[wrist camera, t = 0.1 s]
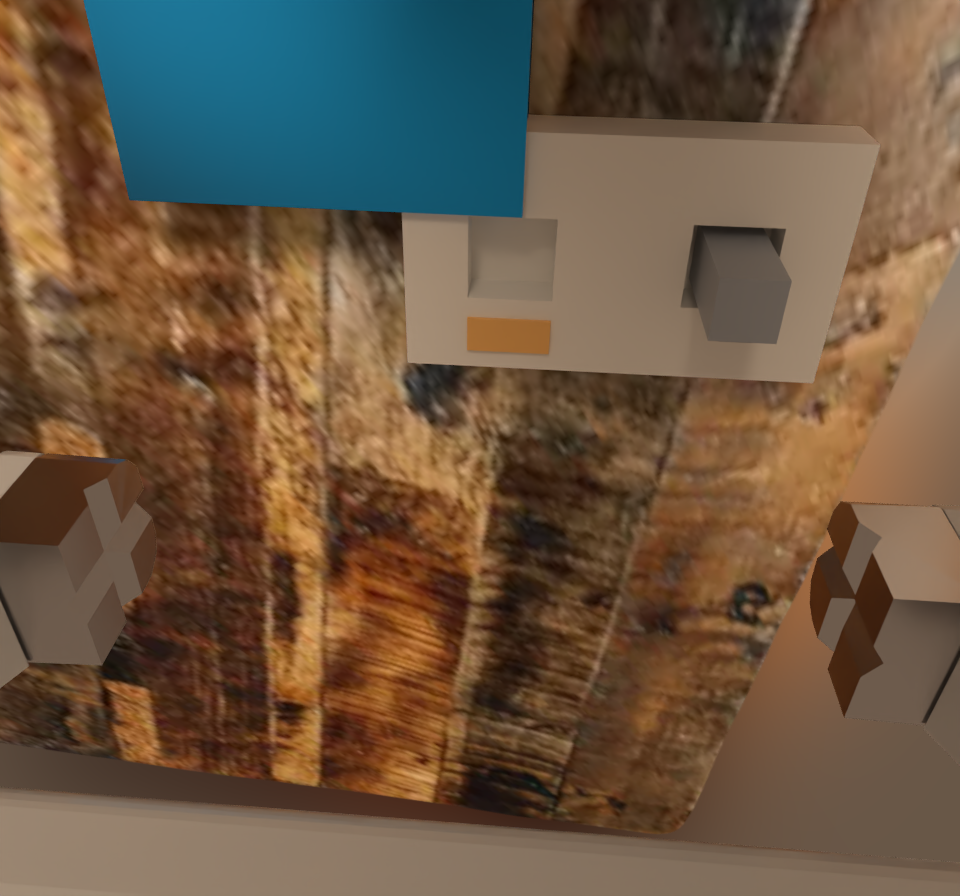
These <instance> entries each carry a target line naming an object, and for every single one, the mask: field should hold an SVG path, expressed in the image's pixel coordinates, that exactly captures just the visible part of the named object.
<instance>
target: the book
mask: <svg viewBox="0 0 960 896" xmlns="http://www.w3.org/2000/svg"><path fill="white" fill-rule="evenodd" d="M84 4H85V9H86V13H87V17H88V22H89V26H90V30H91V35H92V39H93V44H94V48H95V52H96V57H97V61H98V65H99V70H100V74H101V78H102V83H103V87H104V91H105V96H106V100H107V104H108V109H109V113H110V117H111V122H112V126H113V130H114V135H115V139H116V143H117V148H118V152H119V157H120V161H121V165H122V170H123V174H124V178H125V183H126V187H127V191H128V196H129V200H138V201H160V202H182V203H204V204H226V205H249V206H271V207H293V208H315V209H337V210H359V211H381V212H404V213H426V214H448V215H470V216H492V217H514V218H522V216H523V196H524V175H525V153H526V132H527V118H528V114H529V93H530V73H531V52H532V31H533V10H534V0H84Z"/></svg>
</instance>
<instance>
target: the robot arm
mask: <svg viewBox="0 0 960 896" xmlns="http://www.w3.org/2000/svg"><path fill="white" fill-rule="evenodd" d="M143 489H144V488H143V485H142V481H141V478H140V475H139V472H138V469H137V466H136V465H134V464H133V463H131V462H130V461H128V460H124V459H111V458H99V457H86V456H74V455H61V454H49V453H47V454H41V453H30V452H15V451H5V452H2V453H0V688H1V687H2V686H3V685H5V684H6V683H7V682H9V681H10V680H11V679H13V678H14V677H15V676H16V675H18V674H19V673H20V672H22V671H23V670H24V669H26V668H27V667H28V666H29V664H28V662H38V663H61V664H85V665H102V664H103V662H104V660H105V659H106V657H107V655H108V653H109V651H110V650H111V648H112V646H113V644H114V643H115V641H116V639H117V637H118V636H119V634H120V632H121V630H122V628H123V627H124V625H125V623H126V619H125V615H124V612H123V609H122V606H123V605H125V604H126V603H128V602H129V601H131V600H132V599H134V598H136V597H137V596H139V595H140V594H142V592H143V591H144V589H145V587H146V585H147V583H148V581H149V579H150V577H151V575H152V571H153V566H154V562H155V557H156V552H157V550H156V532H155V529H154V525H153V521H152V517H151V516H150V515H148V514H147V513H146V512H145V511H144V510H143V509H142V508H141V507H140V506H139V505H138V504H137V503H136V502H135V501H136V500H137V498H138V497H139V495H140V493H141V492H142V490H143ZM827 530H828V532H829V535H830V537H831V540H832V543H833V545H834V546H833V547H832V548H830V549H829V550H828V551H826V552H825V553H824V554H822V555H821V556H820V557H818V558H817V561H816V565H815V568H814V572H813V575H812V579H811V591H810V608H811V615H812V621H813V624H814V628H815V631H816V634H817V638H818V639H820V640H821V641H822V642H823V643H824V644H825V645H826V646H828V647H829V648H830V649H831V650H832V651H834V653H833V656H832V659H831V662H830V664H829V667H828V671H829V674H830V677H831V680H832V683H833V686H834V689H835V692H836V695H837V697H838V701H839V704H840V707H841V710H842V712H843V716H844V718H853V719H863V720H874V721H884V722H894V723H905V724H915V725H925V727H924V730H925V731H926V732H927V733H928V734H929V735H930V736H931V737H932V738H933V739H934V740H935V741H936V742H937V743H938V744H939V745H940V746H941V747H942V748H943V749H944V750H945V752H946V753H947V754H949V756H950V757H951V758H952V759H953V760H954V761H955V762H956V763H957V764H958V765H959V766H960V506H954V505H952V506H951V505H932V506H917V505H898V504H880V503H879V504H878V503H862V502H843V501H841V502H840V503H839V504H838V506H837V507H836V508H835V510H834V511H833V513H832V516H831V519H830V522H829V525H828V528H827ZM0 896H960V862H947V861H934V860H922V859H909V858H908V859H907V858H897V857H884V856H871V855H859V854H846V853H833V852H821V851H808V850H795V849H783V848H770V847H757V846H743V845H731V844H719V843H705V842H693V841H680V840H668V839H655V838H642V837H629V836H617V835H603V834H590V833H577V832H565V831H553V830H539V829H527V828H514V827H502V826H489V825H476V824H464V823H452V822H439V821H426V820H414V819H400V818H388V817H375V816H362V815H351V814H350V815H349V814H338V813H324V812H313V811H300V810H287V809H275V808H261V807H250V806H236V805H224V804H211V803H199V802H186V801H174V800H161V799H148V798H134V797H122V796H110V795H96V794H84V793H72V792H59V791H47V790H34V789H21V788H9V787H0Z"/></svg>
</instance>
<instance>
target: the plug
mask: <svg viewBox="0 0 960 896" xmlns="http://www.w3.org/2000/svg"><path fill="white" fill-rule="evenodd" d="M689 280H690V283H691V286H692V290H693V293H694V296H695V300H696V303H697V306H698V310H699V313H700V316H701V320H702V323H703V326H704V329H705V333H706V336H707V339H708V341H719V342H739V343H764V344H777V340H778V336H779V332H780V328H781V324H782V319H783V315H784V311H785V307H786V303H787V299H788V295H789V291H790V287H791V283H792V280H791V279H790V277H789V275H788V273H787V271H786V269H785V267H784V265H783V264H782V262H781V260H780V258H779V256H778V254H777V252H776V250H775V249H774V247H773V245H772V243H771V241H770V239H769V237H768V236H767V234H766V232H765V230H764V228H754V227H730V226H706V225H698V227H697V233H696V239H695V245H694V251H693V257H692V263H691V268H690V274H689Z"/></svg>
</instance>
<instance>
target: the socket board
mask: <svg viewBox="0 0 960 896" xmlns="http://www.w3.org/2000/svg"><path fill="white" fill-rule="evenodd" d="M879 149H880V144H879V143H878V142H877V141H876V140H875V139H874V138H873V137H872V136H871V135H869V134H868V133H867V132H866V131H865V130H864V129H863V128H862V127H861V126H842V125H814V124H785V123H757V122H728V121H700V120H671V119H643V118H614V117H586V116H557V115H529V114H528V118H527V132H526V153H525V175H524V196H523V216H522V218H514V217H492V216H470V215H448V214H426V213H404V212H402V231H403V256H404V282H405V307H406V332H407V358H408V363H423V364H443V365H462V366H482V367H502V368H521V369H541V370H561V371H580V372H600V373H620V374H640V375H659V376H679V377H699V378H718V379H738V380H758V381H777V382H797V383H813V382H814V379H815V375H816V372H817V368H818V365H819V361H820V358H821V354H822V350H823V347H824V343H825V340H826V336H827V333H828V329H829V326H830V322H831V319H832V315H833V312H834V308H835V304H836V301H837V297H838V294H839V290H840V287H841V283H842V280H843V276H844V273H845V269H846V266H847V262H848V258H849V255H850V251H851V248H852V244H853V241H854V237H855V234H856V230H857V227H858V223H859V220H860V216H861V212H862V209H863V205H864V202H865V198H866V195H867V191H868V188H869V184H870V181H871V177H872V174H873V170H874V166H875V163H876V159H877V156H878V152H879ZM698 225H706V226H730V227H754V228H764V230H765V232H766V234H767V236H768V237H769V239H770V241H771V243H772V245H773V247H774V249H775V250H776V252H777V254H778V256H779V258H780V260H781V262H782V264H783V265H784V267H785V269H786V271H787V273H788V275H789V277H790V279H791V280H792V283H791V287H790V291H789V295H788V299H787V303H786V307H785V311H784V315H783V319H782V324H781V328H780V332H779V336H778V340H777V344H764V343H739V342H719V341H708V339H707V336H706V333H705V329H704V326H703V323H702V320H701V316H700V313H699V310H698V306H697V303H696V300H695V296H694V293H693V290H692V286H691V283H690V280H689V274H690V268H691V263H692V257H693V251H694V245H695V239H696V233H697V227H698Z"/></svg>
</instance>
